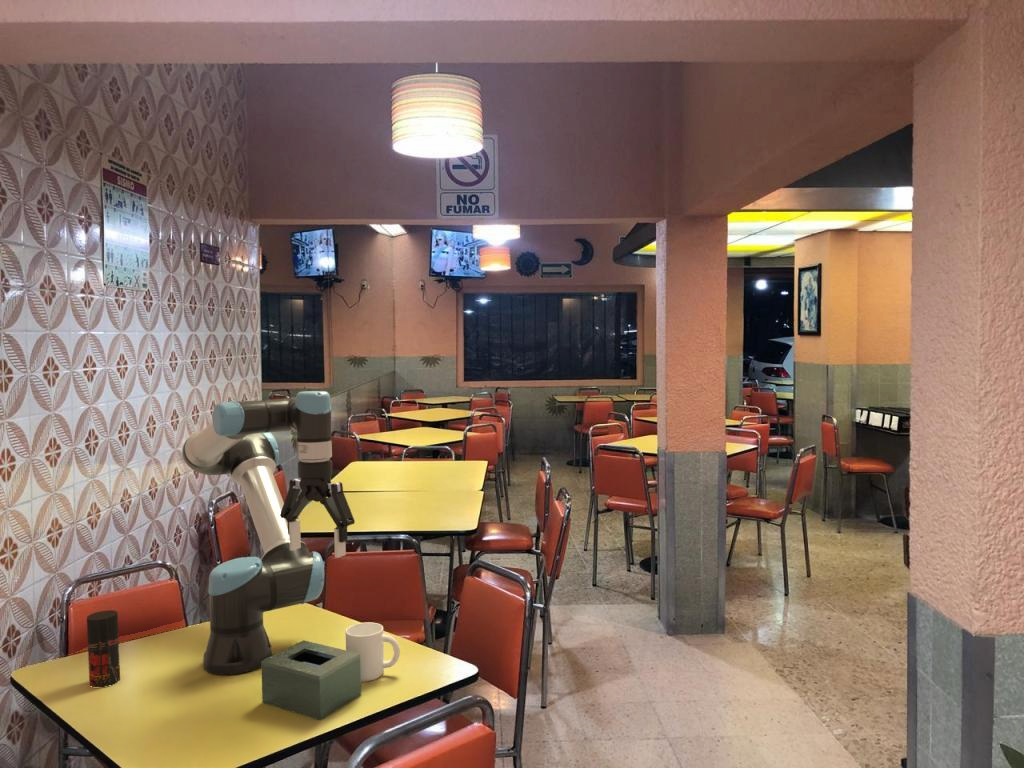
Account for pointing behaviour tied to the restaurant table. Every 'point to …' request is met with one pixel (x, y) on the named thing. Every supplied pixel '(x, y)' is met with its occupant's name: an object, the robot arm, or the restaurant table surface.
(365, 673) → the mug
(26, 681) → the restaurant table surface
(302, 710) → the coin box
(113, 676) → the deodorant
